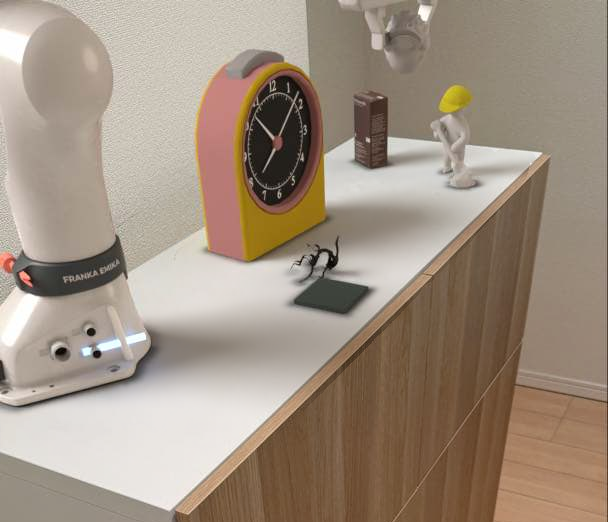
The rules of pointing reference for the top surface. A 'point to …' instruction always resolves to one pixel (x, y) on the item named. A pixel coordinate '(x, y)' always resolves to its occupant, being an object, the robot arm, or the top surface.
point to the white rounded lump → (407, 42)
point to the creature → (330, 263)
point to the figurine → (454, 134)
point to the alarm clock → (259, 155)
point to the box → (371, 128)
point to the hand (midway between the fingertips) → (401, 43)
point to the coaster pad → (331, 295)
